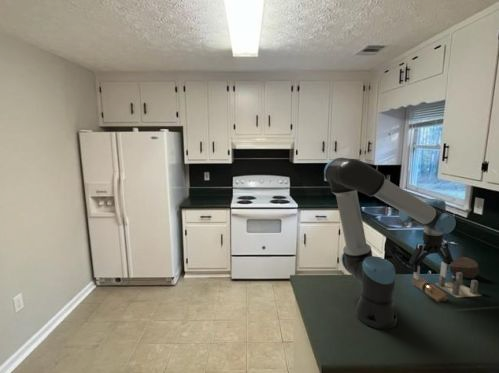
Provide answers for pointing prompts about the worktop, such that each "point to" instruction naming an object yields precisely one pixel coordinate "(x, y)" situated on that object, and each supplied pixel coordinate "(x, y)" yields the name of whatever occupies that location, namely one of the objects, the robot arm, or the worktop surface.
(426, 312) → the worktop surface
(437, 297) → the tube
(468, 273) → the rock
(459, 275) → the board
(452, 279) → the post
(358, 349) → the worktop surface
